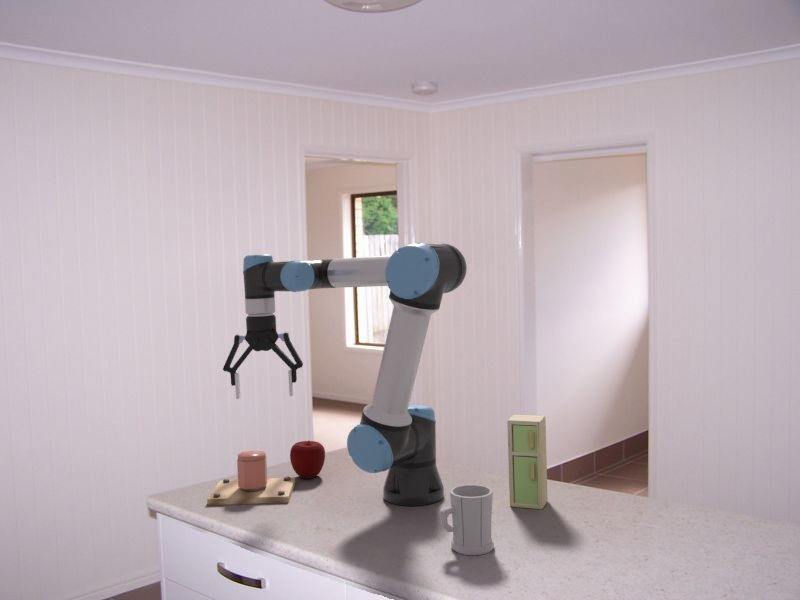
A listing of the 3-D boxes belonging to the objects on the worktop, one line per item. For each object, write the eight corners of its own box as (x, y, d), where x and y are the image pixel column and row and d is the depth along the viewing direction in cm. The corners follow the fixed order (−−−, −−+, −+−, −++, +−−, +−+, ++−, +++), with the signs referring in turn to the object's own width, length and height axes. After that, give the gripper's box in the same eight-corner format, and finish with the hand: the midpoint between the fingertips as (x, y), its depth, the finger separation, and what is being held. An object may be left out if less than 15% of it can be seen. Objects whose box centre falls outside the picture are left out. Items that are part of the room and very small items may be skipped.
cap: (236, 489, 197) (235, 458, 196) (241, 481, 204) (240, 451, 203) (264, 488, 197) (263, 457, 197) (268, 480, 204) (267, 450, 204)
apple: (323, 481, 209) (322, 445, 209) (288, 482, 209) (286, 446, 209) (327, 471, 219) (326, 436, 218) (293, 472, 219) (292, 437, 218)
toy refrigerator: (507, 507, 185) (506, 420, 183) (515, 498, 192) (513, 413, 190) (541, 511, 182) (540, 422, 180) (547, 501, 189) (546, 415, 187)
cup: (478, 562, 153) (477, 502, 153) (438, 553, 158) (436, 495, 157) (501, 544, 162) (500, 487, 162) (462, 536, 167) (461, 481, 166)
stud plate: (295, 482, 209) (294, 454, 209) (288, 502, 193) (287, 471, 193) (220, 485, 209) (219, 456, 208) (207, 505, 193) (206, 474, 192)
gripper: (310, 311, 205) (313, 391, 206) (214, 315, 203) (218, 396, 205) (308, 313, 198) (312, 396, 199) (208, 318, 196) (213, 401, 197)
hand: (264, 396), depth 202 cm, fingers open, 13 cm apart
